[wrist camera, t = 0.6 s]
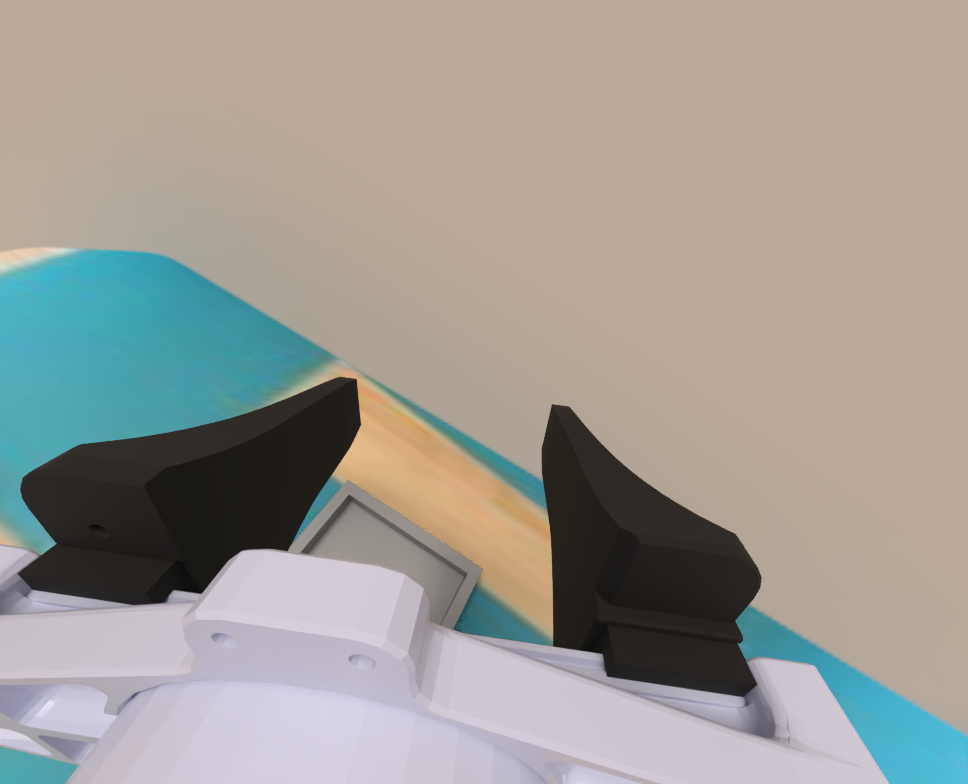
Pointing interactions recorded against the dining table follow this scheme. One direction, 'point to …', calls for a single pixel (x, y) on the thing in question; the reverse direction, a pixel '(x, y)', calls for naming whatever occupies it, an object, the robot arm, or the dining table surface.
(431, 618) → the tray
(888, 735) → the dining table surface
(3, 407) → the dining table surface
